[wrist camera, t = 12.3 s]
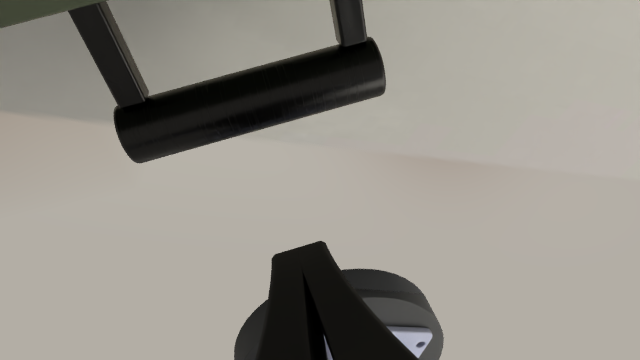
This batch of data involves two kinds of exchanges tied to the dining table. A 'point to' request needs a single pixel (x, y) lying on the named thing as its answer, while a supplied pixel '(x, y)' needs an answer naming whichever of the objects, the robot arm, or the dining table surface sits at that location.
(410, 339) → the robot arm
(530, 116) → the dining table surface
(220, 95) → the drawer
